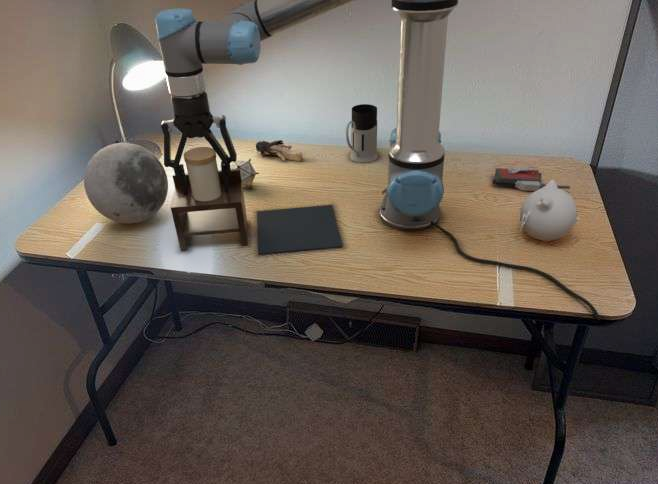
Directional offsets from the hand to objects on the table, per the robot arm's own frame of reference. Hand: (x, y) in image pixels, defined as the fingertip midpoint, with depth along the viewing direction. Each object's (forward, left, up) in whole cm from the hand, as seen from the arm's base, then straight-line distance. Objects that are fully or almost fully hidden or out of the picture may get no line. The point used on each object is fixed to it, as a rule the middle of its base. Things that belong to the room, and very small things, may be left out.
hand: (206, 190), depth 125 cm
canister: (0, 0, -1) cm, 1 cm away
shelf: (0, 0, -13) cm, 13 cm away
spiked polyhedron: (+13, -23, -13) cm, 30 cm away
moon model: (+24, +6, -13) cm, 28 cm away
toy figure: (+18, -44, -13) cm, 50 cm away
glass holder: (-4, -56, -13) cm, 58 cm away
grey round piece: (-65, -46, -13) cm, 81 cm away
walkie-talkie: (-52, -69, -13) cm, 87 cm away
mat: (-14, -15, -13) cm, 24 cm away
